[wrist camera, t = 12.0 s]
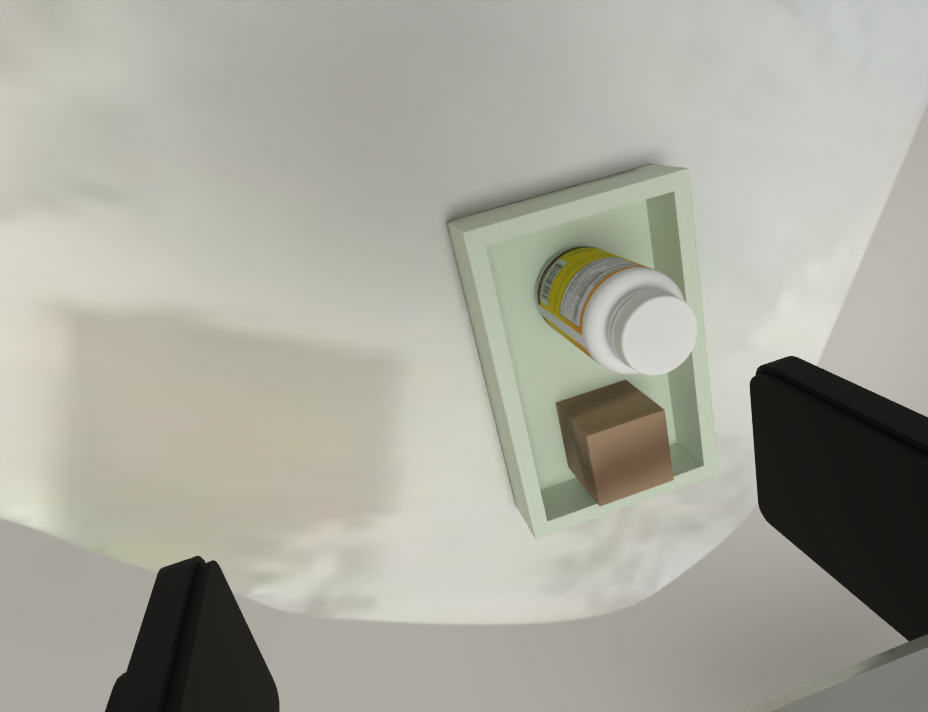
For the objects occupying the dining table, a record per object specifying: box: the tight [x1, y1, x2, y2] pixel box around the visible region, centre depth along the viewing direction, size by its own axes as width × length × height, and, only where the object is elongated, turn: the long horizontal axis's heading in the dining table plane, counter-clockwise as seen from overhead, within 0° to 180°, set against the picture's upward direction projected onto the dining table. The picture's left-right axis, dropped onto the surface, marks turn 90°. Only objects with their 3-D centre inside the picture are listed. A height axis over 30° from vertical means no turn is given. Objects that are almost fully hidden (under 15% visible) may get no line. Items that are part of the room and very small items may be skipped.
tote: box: [446, 164, 719, 539], centre depth 40 cm, size 20×13×4 cm, turn 13°
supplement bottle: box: [536, 246, 698, 375], centre depth 35 cm, size 6×6×10 cm
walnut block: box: [555, 380, 674, 507], centre depth 41 cm, size 5×5×5 cm
